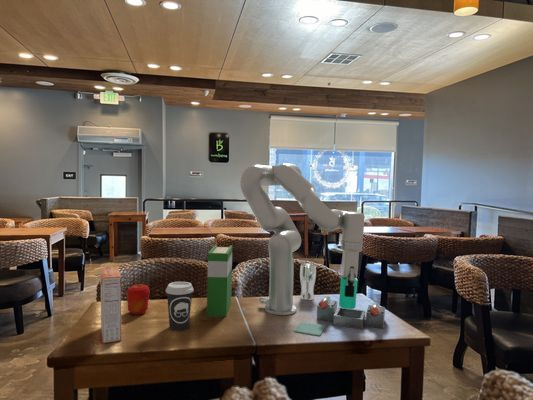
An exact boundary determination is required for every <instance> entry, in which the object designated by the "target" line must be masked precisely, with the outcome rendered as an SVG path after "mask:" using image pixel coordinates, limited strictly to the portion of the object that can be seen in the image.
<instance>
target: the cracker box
mask: <svg viewBox="0 0 533 400" xmlns="http://www.w3.org/2000/svg"><path fill="white" fill-rule="evenodd" d="M100 323H101V325H100V326H101V339H102V341H101V342H102V344H109V343H114V342H115V343H116V342H121V341H122V275H121V273H120V269H119V266H111V267H108V266H107V267H101V268H100Z"/></svg>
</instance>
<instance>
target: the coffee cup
mask: <svg viewBox="0 0 533 400" xmlns="http://www.w3.org/2000/svg"><path fill="white" fill-rule="evenodd" d="M194 291H195V289H194V287H193V285H192V283H191V282H187V281H174V282H173V281H172V282H170V283H169V284H167V287H166V288H165V293H166V297H167V298H166V299H167V309H168V310H167V311H168V322H169V324H168V326H169V329H170V331H176V332H181V331H185V330H187V329H189V327H190V319H191V318H190V317H191V309H192V299H193V292H194Z"/></svg>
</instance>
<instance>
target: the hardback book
mask: <svg viewBox="0 0 533 400" xmlns="http://www.w3.org/2000/svg"><path fill="white" fill-rule="evenodd" d="M232 267H233V245H229V246H226V247H225V246H218V245H217V244H214V245H213V246H212V247H211V249H210V250H209V251H208V252H207V278H206V279H207V283H206V284H207V285H206V288H207V289H206V292H207V293H206V317H219V318H221V317H224V318H227V316H228V314H229V310H230V306H231V303H232V284H233V283H232V281H233V280H232V279H233V268H232Z"/></svg>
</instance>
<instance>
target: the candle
mask: <svg viewBox="0 0 533 400" xmlns="http://www.w3.org/2000/svg"><path fill="white" fill-rule="evenodd" d="M349 277H350V276H349ZM346 278H347V277H345V278H344V277H343V276H341V277H340V285H339V286H340V287H339V288H340V289H339V298H338V300H339V301H338V307H342V308H346V309H355V308H356V305H357V304H356V303H357V293H358V281H359V280H358V279H357V278H355V280H354V297H345V285H346ZM349 280H350V279H348V281H349Z"/></svg>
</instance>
